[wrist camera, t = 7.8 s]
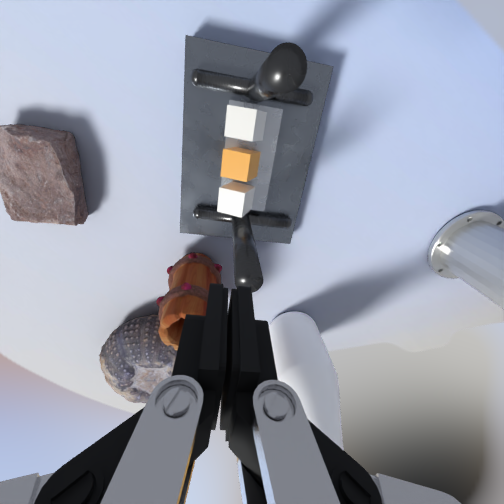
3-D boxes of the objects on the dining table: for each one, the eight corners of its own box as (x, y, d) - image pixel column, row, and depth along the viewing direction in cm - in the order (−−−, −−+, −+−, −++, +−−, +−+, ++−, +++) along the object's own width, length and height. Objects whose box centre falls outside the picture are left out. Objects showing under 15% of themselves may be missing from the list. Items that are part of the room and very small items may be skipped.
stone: (-2, 120, 31) (-37, 121, 27) (80, 128, 32) (59, 130, 28) (28, 215, 36) (3, 228, 32) (97, 218, 37) (82, 232, 33)
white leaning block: (255, 186, 31) (245, 193, 28) (251, 208, 33) (241, 217, 29) (232, 181, 32) (219, 187, 29) (229, 203, 33) (217, 211, 30)
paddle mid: (260, 151, 30) (250, 154, 26) (256, 176, 31) (246, 182, 27) (236, 146, 30) (223, 148, 27) (233, 171, 32) (220, 176, 28)
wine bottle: (311, 343, 53) (396, 572, 27) (265, 346, 52) (306, 585, 26) (317, 307, 49) (426, 538, 22) (267, 310, 48) (318, 553, 21)
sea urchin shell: (86, 321, 45) (64, 368, 36) (193, 288, 48) (197, 324, 39) (129, 389, 53) (121, 440, 45) (218, 358, 56) (226, 400, 48)
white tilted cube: (267, 112, 28) (257, 109, 24) (262, 140, 29) (252, 141, 26) (240, 107, 28) (227, 104, 25) (237, 135, 30) (224, 136, 26)
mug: (167, 244, 40) (139, 309, 27) (221, 242, 40) (219, 305, 27) (179, 317, 47) (161, 397, 34) (225, 314, 47) (225, 392, 34)
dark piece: (325, 69, 31) (436, 22, 15) (286, 236, 41) (326, 318, 25) (188, 41, 29) (140, -54, 12) (182, 225, 39) (151, 308, 22)
